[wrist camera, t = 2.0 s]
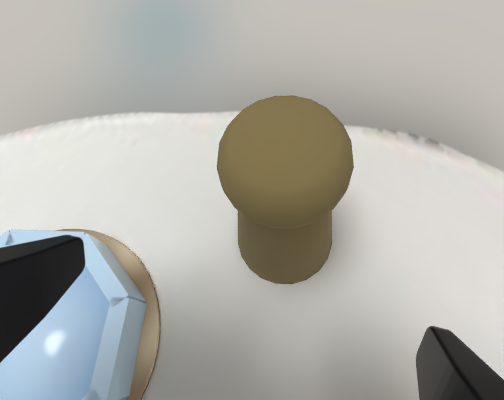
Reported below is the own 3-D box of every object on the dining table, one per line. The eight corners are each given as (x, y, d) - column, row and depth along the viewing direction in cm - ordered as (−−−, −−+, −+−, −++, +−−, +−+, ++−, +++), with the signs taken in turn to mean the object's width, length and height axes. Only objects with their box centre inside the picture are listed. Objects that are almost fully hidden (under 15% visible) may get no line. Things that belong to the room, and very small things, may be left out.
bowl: (180, 350, 18) (166, 350, 16) (-17, 530, 16) (-67, 560, 13) (82, 208, 23) (60, 193, 20) (-84, 330, 20) (-130, 328, 18)
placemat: (206, 352, 19) (205, 352, 18) (-22, 565, 16) (-29, 570, 15) (90, 193, 24) (88, 190, 23) (-97, 329, 21) (-104, 329, 20)
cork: (336, 201, 22) (379, 76, 12) (326, 293, 19) (370, 232, 9) (248, 189, 23) (220, 63, 13) (228, 274, 20) (174, 201, 10)
